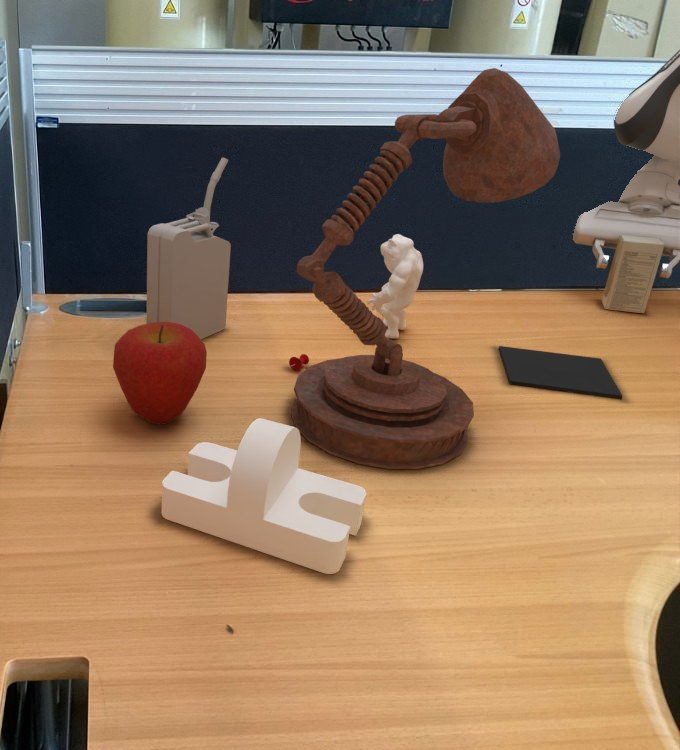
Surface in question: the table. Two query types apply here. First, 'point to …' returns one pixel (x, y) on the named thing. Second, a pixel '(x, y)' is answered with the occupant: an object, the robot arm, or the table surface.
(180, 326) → the apple
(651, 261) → the cosmetic box
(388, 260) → the figurine
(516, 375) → the mat
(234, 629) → the table surface
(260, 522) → the white u-slot block
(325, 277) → the desk lamp
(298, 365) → the pushpin
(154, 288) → the gas can
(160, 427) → the table surface
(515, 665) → the table surface
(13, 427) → the table surface
